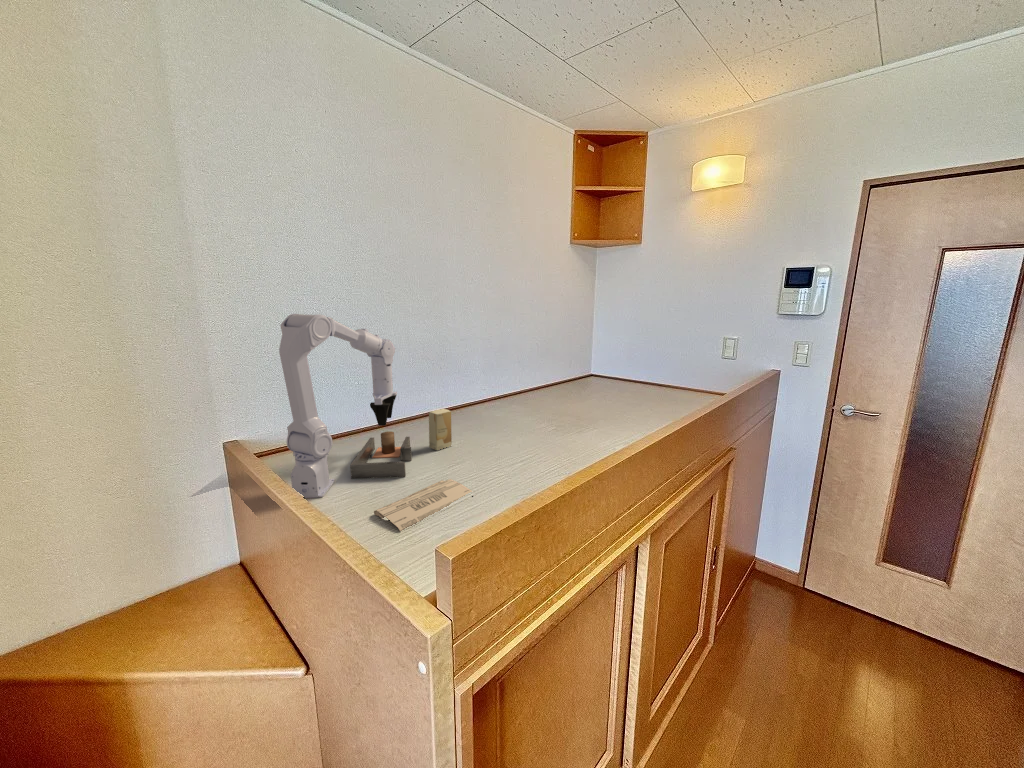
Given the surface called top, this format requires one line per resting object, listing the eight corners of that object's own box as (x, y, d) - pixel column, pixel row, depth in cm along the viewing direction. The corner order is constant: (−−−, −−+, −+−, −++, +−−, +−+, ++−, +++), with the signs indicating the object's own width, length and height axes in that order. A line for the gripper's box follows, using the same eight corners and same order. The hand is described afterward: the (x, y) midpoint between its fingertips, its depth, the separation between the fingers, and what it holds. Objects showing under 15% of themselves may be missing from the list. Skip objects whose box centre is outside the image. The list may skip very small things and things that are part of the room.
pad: (399, 457, 124) (399, 456, 124) (372, 458, 123) (372, 456, 123) (403, 447, 132) (403, 446, 132) (378, 448, 131) (378, 447, 131)
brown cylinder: (393, 453, 126) (392, 435, 124) (380, 454, 125) (379, 435, 124) (396, 449, 130) (395, 431, 128) (383, 449, 129) (382, 431, 128)
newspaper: (444, 482, 109) (444, 474, 108) (475, 502, 101) (476, 493, 101) (366, 514, 92) (366, 505, 92) (396, 541, 85) (396, 530, 84)
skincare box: (437, 451, 129) (435, 414, 127) (428, 447, 132) (427, 411, 130) (452, 446, 134) (451, 410, 131) (444, 442, 137) (443, 407, 134)
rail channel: (405, 477, 111) (404, 463, 110) (351, 478, 109) (350, 465, 108) (415, 448, 132) (415, 436, 131) (371, 449, 130) (370, 437, 130)
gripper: (391, 383, 116) (393, 428, 119) (400, 373, 130) (402, 414, 133) (365, 383, 115) (368, 429, 118) (377, 374, 129) (380, 415, 132)
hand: (385, 421), depth 125 cm, fingers open, 7 cm apart
